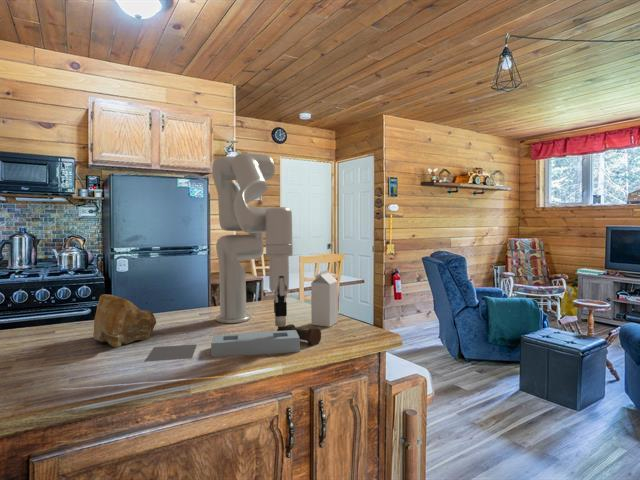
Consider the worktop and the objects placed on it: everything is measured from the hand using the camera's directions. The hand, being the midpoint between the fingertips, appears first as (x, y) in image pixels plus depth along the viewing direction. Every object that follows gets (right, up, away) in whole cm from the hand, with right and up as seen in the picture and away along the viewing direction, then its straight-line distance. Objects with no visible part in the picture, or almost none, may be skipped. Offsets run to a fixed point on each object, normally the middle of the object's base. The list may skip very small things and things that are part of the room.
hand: (280, 314), depth 115 cm
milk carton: (+13, -9, +28) cm, 32 cm away
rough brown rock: (-49, -10, +9) cm, 51 cm away
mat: (-30, -11, -3) cm, 32 cm away
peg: (0, -3, 0) cm, 3 cm away
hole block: (-7, -10, -1) cm, 12 cm away
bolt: (+4, -10, +9) cm, 14 cm away
